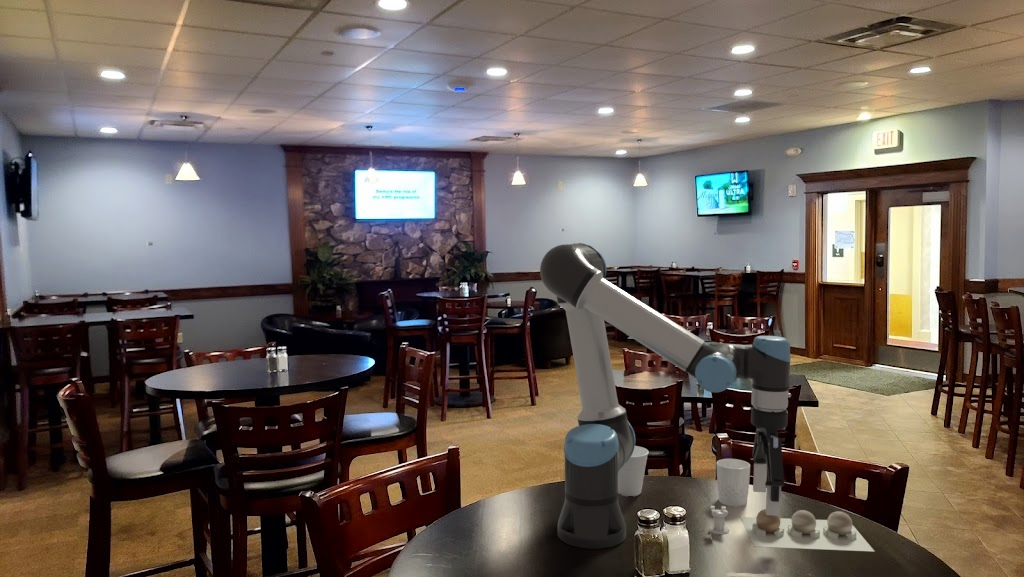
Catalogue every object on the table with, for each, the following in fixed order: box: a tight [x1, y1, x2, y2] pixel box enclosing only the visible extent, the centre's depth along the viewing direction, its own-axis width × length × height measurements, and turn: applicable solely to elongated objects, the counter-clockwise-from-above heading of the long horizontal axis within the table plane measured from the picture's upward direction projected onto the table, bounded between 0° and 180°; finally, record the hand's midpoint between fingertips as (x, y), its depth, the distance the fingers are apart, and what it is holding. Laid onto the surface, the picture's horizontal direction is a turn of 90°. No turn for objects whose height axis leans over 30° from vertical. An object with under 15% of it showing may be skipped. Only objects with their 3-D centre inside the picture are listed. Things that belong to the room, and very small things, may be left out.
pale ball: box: [826, 510, 854, 535], centre depth 158 cm, size 5×5×5 cm
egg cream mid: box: [791, 509, 817, 534], centre depth 159 cm, size 5×5×5 cm
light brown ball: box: [756, 508, 781, 533], centre depth 159 cm, size 5×5×5 cm
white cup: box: [716, 458, 751, 507], centre depth 178 cm, size 8×8×10 cm
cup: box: [618, 445, 650, 497], centre depth 186 cm, size 10×10×11 cm
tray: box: [740, 516, 876, 553], centre depth 159 cm, size 24×16×2 cm, turn 83°
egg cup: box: [708, 505, 730, 535], centre depth 161 cm, size 4×4×5 cm
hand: (765, 502), depth 159 cm, fingers open, 13 cm apart
